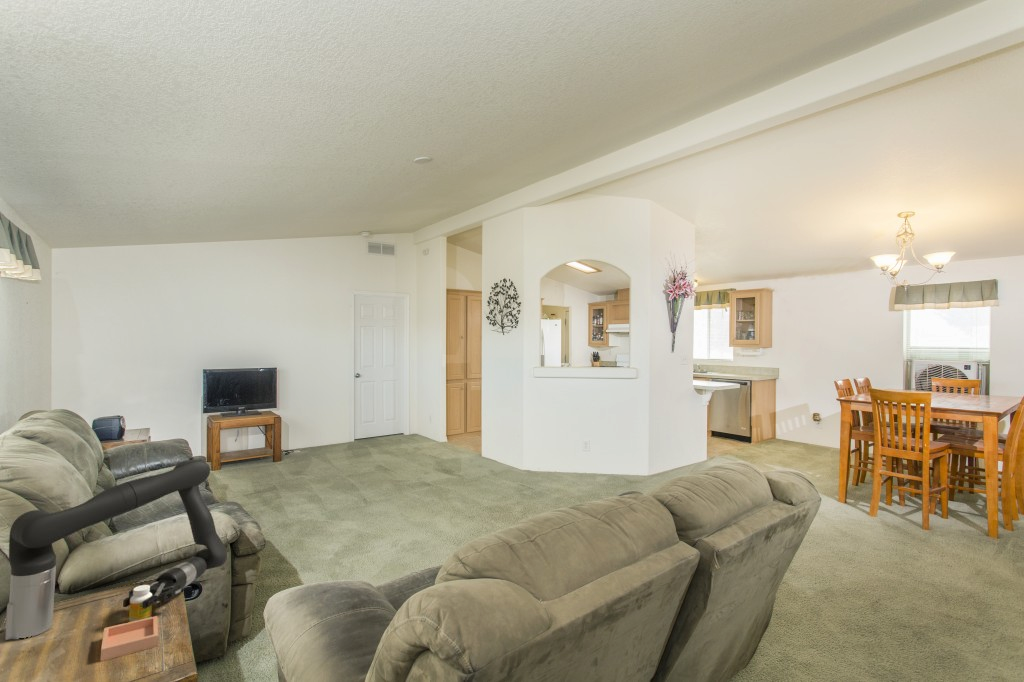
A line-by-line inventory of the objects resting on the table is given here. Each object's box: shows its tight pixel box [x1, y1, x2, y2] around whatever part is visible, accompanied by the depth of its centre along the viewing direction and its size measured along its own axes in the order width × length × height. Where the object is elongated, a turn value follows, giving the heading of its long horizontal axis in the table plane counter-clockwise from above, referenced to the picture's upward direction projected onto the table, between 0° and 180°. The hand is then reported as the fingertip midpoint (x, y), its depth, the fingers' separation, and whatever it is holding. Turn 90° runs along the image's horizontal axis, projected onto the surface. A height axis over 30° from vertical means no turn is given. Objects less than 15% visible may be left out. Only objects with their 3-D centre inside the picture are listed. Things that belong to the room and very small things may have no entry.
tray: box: [100, 615, 159, 662], centre depth 136 cm, size 12×12×3 cm
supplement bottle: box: [128, 584, 153, 622], centre depth 147 cm, size 5×5×10 cm
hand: (134, 604), depth 144 cm, fingers closed on supplement bottle, 5 cm apart
